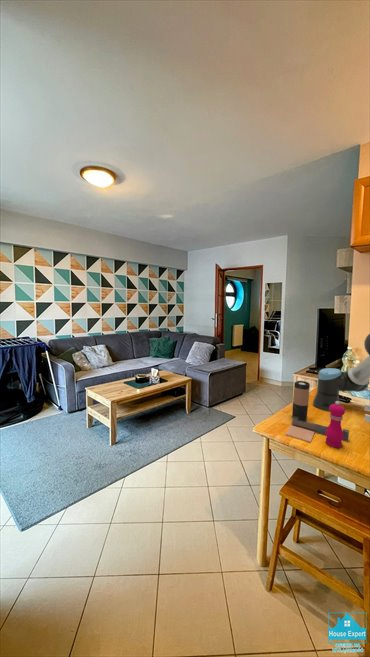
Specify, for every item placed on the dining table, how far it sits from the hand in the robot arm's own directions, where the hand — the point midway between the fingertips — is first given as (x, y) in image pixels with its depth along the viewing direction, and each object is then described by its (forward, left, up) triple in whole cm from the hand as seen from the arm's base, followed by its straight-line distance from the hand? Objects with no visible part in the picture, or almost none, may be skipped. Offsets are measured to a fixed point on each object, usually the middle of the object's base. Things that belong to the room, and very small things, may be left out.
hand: (364, 412), depth 107 cm
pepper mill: (+6, -8, -18) cm, 21 cm away
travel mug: (+4, -33, -18) cm, 38 cm away
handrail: (+5, -18, -18) cm, 26 cm away
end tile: (+15, -18, -18) cm, 30 cm away
